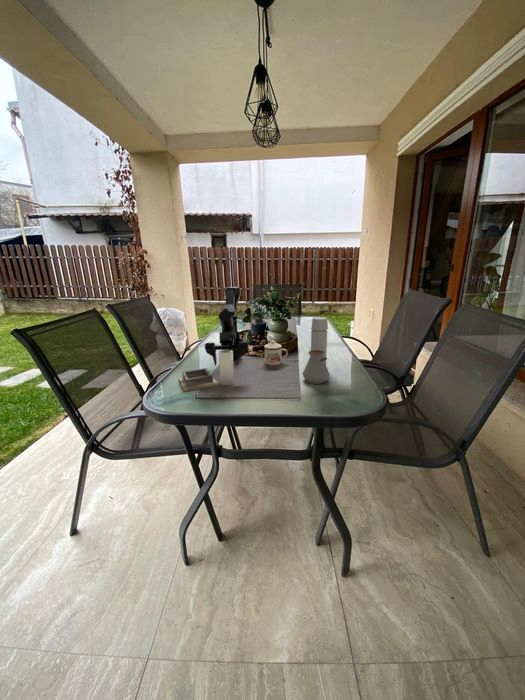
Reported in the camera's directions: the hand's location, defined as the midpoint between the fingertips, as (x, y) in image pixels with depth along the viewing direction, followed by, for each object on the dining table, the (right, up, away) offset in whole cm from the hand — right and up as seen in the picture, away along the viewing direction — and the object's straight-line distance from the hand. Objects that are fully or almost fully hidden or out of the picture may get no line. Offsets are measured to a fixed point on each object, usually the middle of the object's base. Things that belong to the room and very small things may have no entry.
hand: (226, 365), depth 122 cm
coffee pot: (+39, -8, -2) cm, 40 cm away
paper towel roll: (0, -8, +2) cm, 8 cm away
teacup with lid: (+22, 0, +27) cm, 35 cm away
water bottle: (+42, -3, +15) cm, 45 cm away
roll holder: (-13, -8, +4) cm, 16 cm away
